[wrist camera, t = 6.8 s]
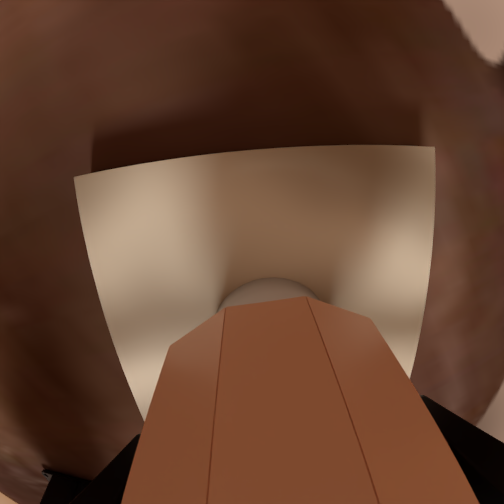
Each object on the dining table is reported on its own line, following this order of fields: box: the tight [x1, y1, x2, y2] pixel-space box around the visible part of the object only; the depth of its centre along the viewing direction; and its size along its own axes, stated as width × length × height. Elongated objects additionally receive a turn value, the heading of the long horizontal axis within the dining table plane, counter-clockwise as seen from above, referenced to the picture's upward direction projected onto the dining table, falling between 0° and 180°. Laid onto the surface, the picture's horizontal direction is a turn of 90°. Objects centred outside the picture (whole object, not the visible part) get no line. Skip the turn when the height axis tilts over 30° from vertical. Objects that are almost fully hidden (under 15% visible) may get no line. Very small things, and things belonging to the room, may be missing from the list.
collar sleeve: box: [121, 296, 479, 504], centre depth 6 cm, size 7×7×6 cm
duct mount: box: [74, 145, 435, 421], centre depth 11 cm, size 14×14×6 cm
